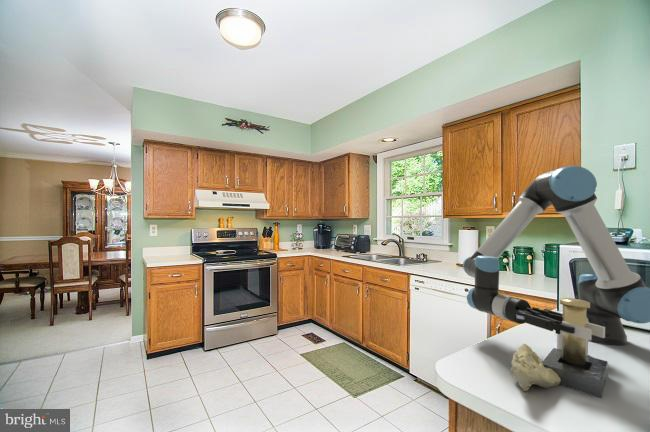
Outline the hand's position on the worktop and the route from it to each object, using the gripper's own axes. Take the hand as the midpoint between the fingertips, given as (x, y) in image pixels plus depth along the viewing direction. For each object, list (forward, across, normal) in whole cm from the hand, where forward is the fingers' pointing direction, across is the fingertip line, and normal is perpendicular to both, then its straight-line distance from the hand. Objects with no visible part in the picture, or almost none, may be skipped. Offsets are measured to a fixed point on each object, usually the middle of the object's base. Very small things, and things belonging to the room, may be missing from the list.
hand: (597, 333), depth 79 cm
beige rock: (-5, +17, -14) cm, 22 cm away
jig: (-5, 0, -13) cm, 14 cm away
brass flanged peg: (-5, 0, -9) cm, 10 cm away
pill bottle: (-16, -18, -14) cm, 28 cm away
